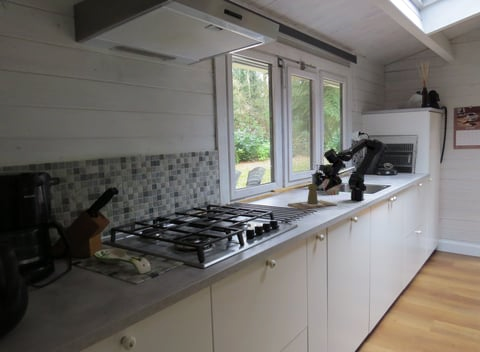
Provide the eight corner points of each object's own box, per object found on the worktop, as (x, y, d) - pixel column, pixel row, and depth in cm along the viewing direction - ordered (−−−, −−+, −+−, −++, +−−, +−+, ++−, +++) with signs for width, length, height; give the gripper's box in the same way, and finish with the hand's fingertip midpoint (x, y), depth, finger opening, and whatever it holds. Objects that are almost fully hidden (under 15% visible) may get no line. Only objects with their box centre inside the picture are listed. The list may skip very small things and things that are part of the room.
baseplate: (321, 201, 220) (321, 199, 220) (337, 205, 208) (337, 203, 208) (287, 205, 209) (287, 203, 209) (302, 209, 197) (302, 207, 197)
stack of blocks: (322, 189, 265) (323, 172, 264) (331, 189, 265) (331, 172, 264) (329, 194, 244) (330, 176, 243) (339, 194, 244) (339, 176, 243)
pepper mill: (308, 204, 206) (308, 185, 204) (306, 202, 212) (306, 183, 210) (319, 204, 206) (319, 185, 204) (316, 202, 212) (316, 183, 210)
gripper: (316, 158, 219) (301, 178, 215) (338, 160, 202) (322, 182, 198) (327, 170, 223) (312, 190, 219) (349, 173, 207) (333, 195, 203)
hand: (319, 189), depth 210 cm, fingers open, 9 cm apart
